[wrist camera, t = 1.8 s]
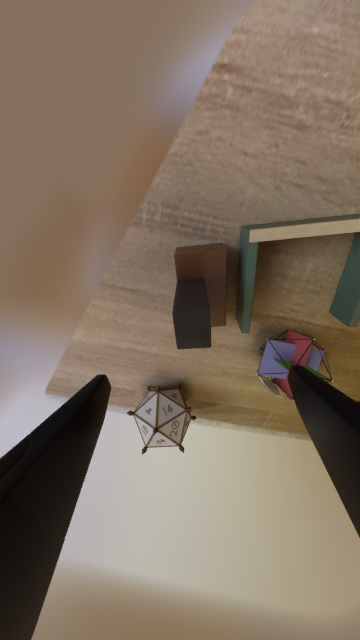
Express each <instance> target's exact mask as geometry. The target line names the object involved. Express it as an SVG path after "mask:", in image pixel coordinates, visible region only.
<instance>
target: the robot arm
mask: <svg viewBox="0 0 360 640" xmlns="http://www.w3.org/2000/svg"><path fill="white" fill-rule="evenodd" d="M287 381H288V384H289V387H290V390H291V392H292V395H293V398H294V401H295V403H296V406H297V409H298V412H299V414H300V416H301V418H302V420H303V423H304V425H305V427H306V429H307V431H308V433H309V435H310V437H311V439H312V441H313V443H314V445H315V447H316V449H317V451H318V453H319V455H320V457H321V459H322V461H323V464H324V465H325V468H326V470H327V472H328V474H329V476H330V478H331V480H332V482H333V484H334V486H335V488H336V490H337V492H338V494H339V496H340V498H341V500H342V502H343V504H344V507H345V509H346V511H347V513H348V515H349V517H350V519H351V521H352V523H353V525H354V527H355V529H356V531H357V533H358V535H359V537H360V404H359V403H357V402H356V401H354V400H353V399H351V398H350V397H348V396H347V395H345V394H344V393H342V392H341V391H339V390H338V389H336V388H335V387H333V386H332V385H330V384H329V383H327V382H326V381H324V380H323V379H321V378H320V377H318V376H317V375H315V374H314V373H312V372H311V371H309V370H308V369H306V368H305V367H303V366H301V365H292V366H290V369H289V373H288V377H287ZM110 391H111V385H110V382H109V380H108V378H107V376H106V375H97V376H96V377H94V378H93V379H92V380H91V381H90V382H89V383H88V384H86V385H85V386H84V387H83V388H82V389H81V390H79V391H78V392H77V393H76V394H75V395H74V396H73V397H71V398H70V399H69V400H68V401H67V402H66V403H64V404H63V405H62V406H61V407H60V408H59V409H58V410H57V411H55V412H54V413H53V414H52V415H51V416H50V417H48V418H47V419H46V420H45V421H44V422H43V423H41V424H40V426H38V427H37V428H36V429H34V430H33V431H32V432H31V433H30V434H29V435H27V436H26V437H25V438H24V439H23V440H22V441H21V442H19V444H17V445H16V446H15V447H13V448H12V449H11V450H10V451H9V452H8V453H6V455H4V456H3V457H1V458H0V640H31V639H32V636H33V633H34V630H35V627H36V624H37V621H38V618H39V615H40V612H41V609H42V606H43V603H44V600H45V597H46V594H47V591H48V588H49V585H50V582H51V579H52V576H53V573H54V570H55V567H56V564H57V561H58V558H59V555H60V552H61V549H62V546H63V543H64V540H65V536H66V533H67V530H68V527H69V524H70V521H71V518H72V515H73V512H74V509H75V506H76V503H77V500H78V497H79V494H80V491H81V488H82V485H83V482H84V479H85V476H86V473H87V470H88V467H89V464H90V461H91V458H92V455H93V452H94V449H95V446H96V443H97V440H98V437H99V434H100V431H101V428H102V425H103V422H104V418H105V414H106V410H107V405H108V401H109V396H110Z"/></svg>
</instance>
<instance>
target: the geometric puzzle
mask: <svg viewBox="0 0 360 640" xmlns="http://www.w3.org/2000/svg"><path fill="white" fill-rule="evenodd" d="M288 330H289V331H288ZM288 330H287V331H288V334H287V337H286V339H270V338H269V339H267V343H266V345H265V349H261V348H260V351H261V350H262V351H263V352H264V353H263V355H262V359H261V363H260V366H259V369H258V370H257V374H256V375H260V376H261V375H264V376H269V377H271V379H272V377H274V378H273V380H271V381H266V380H265V379H264V380H261V381H262V383H263V385H264V386H265V387H266V388H267V389H268V390H269V391H270V392H272V393H274V394H279V395H280V393H279V391H280V390H279V391H278V390H277V388H276V386H275V384H276V385H277V386H278V387H279V388H280V389H281V390H282V391H283V392H284V393H285V394H286V395H287V397H288V396H289V397H290V398H291V399H290V400H292V401H294V400H293V399H294V398H293V395H292V392H291V390H290V387H289V384H288V381H287V377H288V373H289V369H290V366H292V365H301V366H303V367H305V368H306V369H308V370H309V371H311V372H312V373H314V374H315V375H317V376H318V377H320V378H321V379H325V380H330V379H329V378H327V377H325V376H324V375H322V374H321V373H319V372H318V369H319V367H320V364H321V361H322V359H323V356H324V353H325V352H326V351H325V350H324V349H323V348H322V347H321V348H322V350H319V349H313V348H311V347H312V344H313V341H315V339H312V338H310V337H307V336H304V335H302V334H299V333H297V332H294V331H292V330H290V329H288ZM287 331H286V332H287ZM282 333H283V332H282ZM280 334H281V333H280ZM283 334H284V333H283ZM278 335H279V334H278ZM280 336H281V335H280ZM271 338H272V337H271ZM277 338H278V337H277ZM274 340H286V341H285V343H284V342H279V341H274ZM315 344H316V342H315ZM263 345H264V344H263ZM313 345H314V344H313ZM315 346H317V344H316V345H315ZM262 348H263V347H262ZM317 348H319V347H318V346H317ZM321 348H320V349H321ZM259 354H260V352H259ZM261 354H262V352H261ZM325 354H326V353H325ZM326 358H327V357H326ZM323 362H324V360H323ZM327 362H328V361H327ZM258 363H259V361H258ZM324 364H325V363H324ZM325 366H326V365H325ZM328 366H329V365H328ZM326 368H327V367H326ZM329 370H330V369H329ZM327 371H328V369H327ZM328 373H329V372H328ZM330 374H331V373H330ZM330 374H329V375H330ZM262 377H263V376H262ZM262 377H261V378H262ZM330 377H331V376H330ZM259 378H260V377H259ZM261 378H260V379H261ZM264 378H266V377H264ZM267 379H268V378H267ZM269 380H270V379H269ZM331 381H332V382H333V380H332V377H331V380H330V382H331ZM273 382H274V383H275V384H274V383H273ZM326 382H328V383H329V381H326ZM284 393H283V394H284ZM281 396H282V395H281ZM283 397H284V396H283ZM287 397H286V398H287ZM288 399H289V398H288Z"/></svg>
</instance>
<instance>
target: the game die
mask: <svg viewBox="0 0 360 640" xmlns="http://www.w3.org/2000/svg"><path fill="white" fill-rule="evenodd" d="M181 387H182V383H181V384H179V386H178V388H172V389H159V388H160V387H158V386H156V388H155V389H156V390H151V388H150V387H149V386H148V387H147V389H148V391H149V392H148V394H147V395H146V396H145V398H144V399H143V401H142V402H141V403H140V405H139V406H138V407H137V409H136V410H135V411H134V412H132V411H129V412H127V414H128V415H131V416H132V415H134V418H135V420H136V423H137V426H138V428H139V431H140V434H141V436H142V439H143V441H144V444H145V447H144V448H143V450H142V454H144V453H145V452H146V451H147V448H149V447H171V446H179V449H180V450H181V451H182V452H183V453H184V448H183V446H182V445H181V443H182V441H183V438H184V436H185V433H186V431H187V428H188V426H189V423H190V421H191V419H192V420H195V419H196V417H195V416H191V414H190V412H191V411H192V408H191V407H187V405H186V403H185V400H184V398H183V395H182V393H181V391H180V388H181Z"/></svg>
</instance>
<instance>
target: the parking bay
mask: <svg viewBox="0 0 360 640" xmlns="http://www.w3.org/2000/svg"><path fill="white" fill-rule="evenodd" d="M354 232H357V233H356V236H355V239H354V242H353V245H352V248H351V251H350V254H349V257H348V260H347V263H346V265H345V268H344V271H343V274H342V277H341V280H340V283H339V286H338V289H337V292H336V295H335V298H334V301H333V304H332V307H331V310H330V313H331V314H332V315H333V316H335V317H336V318H337V319H339V320H340V321H341V322H342V323H344V324H345V325H346V326H348V327H356V326H357V324H358V322H359V320H360V214H353V215H343V216H334V217H324V218H315V219H306V220H296V221H287V222H277V223H268V224H258V225H249V226H241V233H240V253H239V271H238V289H237V307H236V320H237V323H238V325H239V327H240V330H241V332H242V333H250V323H251V313H252V303H253V294H254V284H255V274H256V264H257V254H258V244H259V242H262V241H272V240H283V239H293V238H303V237H313V236H323V235H333V234H343V233H354Z"/></svg>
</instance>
